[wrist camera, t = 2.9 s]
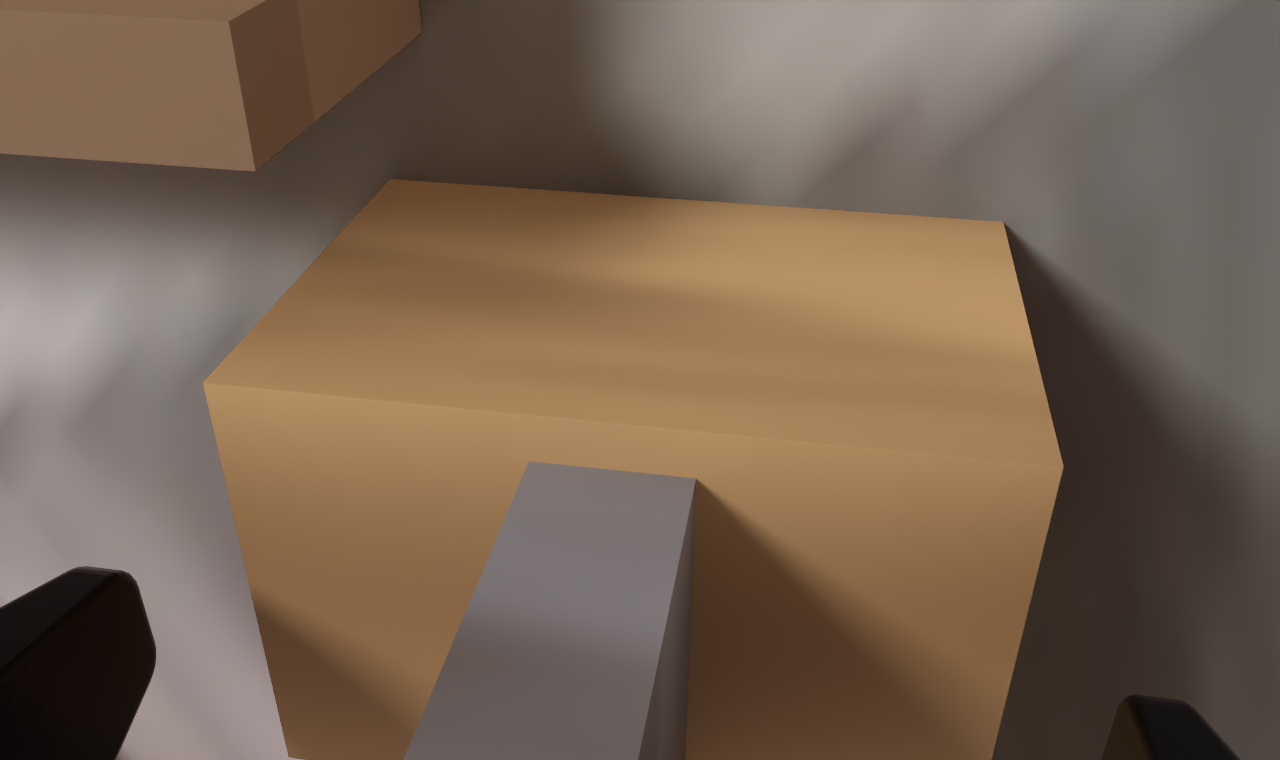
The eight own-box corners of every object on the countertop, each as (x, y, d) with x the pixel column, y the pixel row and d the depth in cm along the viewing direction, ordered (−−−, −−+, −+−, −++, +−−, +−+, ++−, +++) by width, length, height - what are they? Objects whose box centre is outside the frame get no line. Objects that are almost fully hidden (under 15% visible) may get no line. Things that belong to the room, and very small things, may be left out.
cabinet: (938, 560, 13) (1005, 1387, 7) (429, 504, 14) (72, 1198, 8) (1003, 218, 11) (1190, 978, 5) (391, 176, 12) (-156, 774, 5)
